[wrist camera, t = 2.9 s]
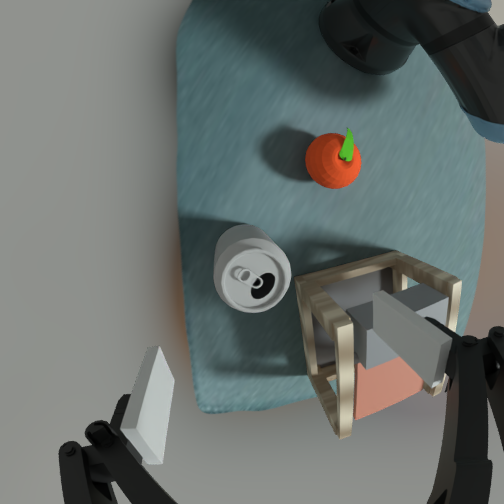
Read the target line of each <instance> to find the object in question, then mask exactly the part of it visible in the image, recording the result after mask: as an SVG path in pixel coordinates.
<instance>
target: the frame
mask: <svg viewBox="0 0 504 504" xmlns="http://www.w3.org/2000/svg"><path fill="white" fill-rule="evenodd" d="M407 277H409V278H411V279H413V280H415V281H416V282H418V283H420V284H421V283H424V284H426V285H428V286H430V287H431V288H433V289H435V290H437V291H439V292H440V293H442V294H444V295H446V296H448V297H449V299H448V308H447V317H446V324H445V327H448V328H449V329H451V330H452V331H453V332H455V330H456V324H457V318H458V311H459V303H460V295H461V285H462V280H460V279H458V278H457V277H456V276H453V275H451V274H449V273H447V272H445V271H442V270H440V269H438V268H436V267H434V266H431V265H429V264H427V263H424V262H422V261H420V260H418V259H415V258H413V257H411V256H408V255H406V254H404V253H401V252H399V251H396V250H395V251H391V252H388V253H384V254H381V255H377V256H373V257H370V258H366V259H362V260H359V261H355V262H351V263H347V264H343V265H340V266H336V267H332V268H328V269H324V270H320V271H316V272H312V273H308V274H304V275H300V276H296V277H294V281H295V288H296V294H297V301H298V308H299V314H300V321H301V328H302V336H303V343H304V351H305V358H306V366H307V374H308V377H309V379H310V382H311V384H312V386H313V388H314V390H315V392H316V394H317V396H318V398H319V401H320V403H321V404H322V407H323V409H324V411H325V413H326V415H327V417H328V420H329V422H330V424H331V426H332V428H333V430H334V432H335V434H336V435H338V437H339V439H343V438H346V437H348V436H351V431H352V415H353V413H352V412H353V389H354V373H355V365H354V337H353V322H352V321H351V318H350V317H349V316H348V315H347V314H346V309H348V308H351V307H354V306H358V305H361V304H364V303H367V302H370V301H373V293H376V292H379V291H382V290H383V291H385V292H386V293H388V294H389V295H391V294H394V293H396V292H399V291H402V290H405V289H407ZM445 376H446V374H445V375H444V378H443V382H442V383H440V384H438V385H437V386H435V387H433V388H431V387H430V386H429V385H428V384H427V383H426V382H425V381H424V385H423V388H424V389H425V391H426V392H427V393H428V394H429V393H430V394H431V395H432V396H433V397H434V396H435V395H437V394H439V393H440V392H441V390H442V387H443V383H444V379H445ZM335 379H337V396H336V395H335V393H334V391H333V389H332V387H331V386H330V384H329V382H328V381H331V380H335Z"/></svg>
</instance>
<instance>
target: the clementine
mask: <svg viewBox="0 0 504 504" xmlns="http://www.w3.org/2000/svg"><path fill="white" fill-rule="evenodd" d="M346 128H347V127H346ZM347 129H348V128H347ZM305 162H306V167H307V170H308V173H309V174H310V176H311V177H312V179H313V180H314V181H316V182H317V183H318V184H320V185H322V186H324V187H327V188H331V189H338V188H342V187H345V186H348V185H349V184H350V183H352V182H353V181H354V180H355V178H356V177H357V176H358V174H359V171H360V168H361V156H360V153H359V150H358V148H357V147H356V145H355V144H354V141H353V136H352V132H351V131H350V129H348V130H347V135H346V137H345V136H343V135H340V134H336V133H328V134H324V135H321V136H319V137H317V138H316V139H315V140H314V141H313V142H312V143H311V144H310V145H309V147H308V149H307V151H306V157H305Z"/></svg>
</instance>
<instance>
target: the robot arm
mask: <svg viewBox="0 0 504 504" xmlns="http://www.w3.org/2000/svg"><path fill="white" fill-rule="evenodd" d="M491 5H492V3H491V0H330V1H329V2H328V3H327V4H326V5H325V7H324V8H323V10H322V11H321V13H320V17H319V26H320V30H321V33H322V35H323V37H324V39H325V41H326V42H327V44H328V45H329V47H330V48H331V49H332V50H333V51H334V52H335V53H336V54H337V55H338V56H339V57H340V58H341V59H342V60H344V61H345V62H347V63H348V64H349V65H351V66H353V67H355V68H356V69H358V70H361V71H363V72H366V73H370V74H375V75H385V74H389V73H392V72H394V71H395V70H397V69H399V68H401V67H402V66H403V65H404V64H405V63H406V61H407V59H408V57H409V55H410V54H411V53H412V51H413V50H414V48H415V46H416V45H418V44H420V45H421V46H422V47H423V49H424V50H425V51H426V53H427V54H428V56H429V57H430V58H431V60H432V61H433V62H434V64H435V65H436V67H437V68H438V70H439V71H440V72H441V74H442V75H443V77H444V79H445V80H446V82H447V83H448V85H449V87H450V88H451V90H452V92H453V93H454V95H455V97H456V99H457V100H458V102H459V105H460V108H461V109H462V111H463V112H464V113H465V114H466V115H467V117H468V119H469V121H470V122H471V124H472V126H473V128H474V129H475V131H476V132H477V133H478V134H479V135H481V136H483V137H485V138H486V139H488V140H490V141H493V142H497V143H503V144H504V24H503V25H500V26H497V25H496V23H495V22H494V21H493V19H492V18H491V16H490V15H489V13H488V11H489V10H490V8H491ZM373 331H374V332H375V333H376V334H377V335H378V336H379V337H380V338H381V339H382V340H383V341H384V342H385V343H386V344H387V345H388V346H389V347H390V348H391V349H392V350H393V351H395V352H396V353H397V354H398V355H399V356H400V357H401V358H402V359H403V360H404V361H405V362H406V363H407V364H408V365H409V366H410V367H411V368H412V369H413V370H414V371H415V372H416V373H417V374H418V375H419V376H420V377H421V378H422V379H423V380H424V381H425V382H426V383H427V384H428V385H429V386H430V387H431V388H433V387H435V386H437V385H438V384H440V383H442V382H443V378H444V375H445V374H447V375H448V376H449V379H448V383H447V386H446V390H445V392H447V404H446V416H445V425H444V433H443V440H442V447H441V453H440V458H439V464H438V469H437V474H436V478H435V482H434V486H433V490H432V493H431V495H430V497H429V499H428V502H427V504H488V501H489V494H490V487H491V479H492V467H493V466H492V461H491V460H488V458H487V454H488V406H487V398H488V400H489V403H490V406H491V409H492V412H493V415H494V418H495V421H496V425H497V428H498V431H499V435H500V439H501V443H502V446H503V451H504V327H500V326H496V327H493V328H491V329H490V330H489V334H488V337H486V338H483V339H477V338H476V337H474V336H469V335H467V336H462V337H461V336H459V335H458V334H456V333H455V332H453V331H452V330H451V329H449V328H448V327H445V325H443V324H441V323H440V322H439V321H437V320H436V319H434V318H431V317H427V316H426V317H424V318H423V317H421V316H420V315H419V314H417V313H416V312H414V311H413V310H411V309H410V308H408V307H407V306H405V305H404V304H403V303H401V302H400V301H398V300H397V299H395V298H394V297H392V296H391V295H389V294H388V293H386V292H385V291H383V290H382V291H379V292H376V293H373ZM174 382H175V380H174V378H173V376H172V374H171V372H170V369H169V367H168V365H167V362H166V360H165V358H164V355H163V353H162V350H161V348H160V346H154V347H149V348H147V351H146V354H145V356H144V359H143V362H142V365H141V367H140V370H139V373H138V376H137V379H136V381H135V384H134V388H133V390H132V393H131V394H126V395H125V394H124V395H123V396H122V397H121V398H120V400H119V401H118V403H117V406H116V409H115V411H114V415H113V417H112V419H111V422H110V424H109V423H108V422H107V421H103V420H100V421H95V422H93V423H91V424H90V425H89V426H88V427H87V428H86V431H85V437H86V438H87V439H88V440H89V442H90V443H91V444H92V445H90V446H85V447H81V446H80V444H78V443H77V442H75V441H69V442H66V443H64V444H63V445H62V446H61V447H60V449H59V466H60V475H61V483H62V491H63V497H64V502H65V504H118V503H117V500H116V497H115V494H114V491H113V488H112V485H111V482H113V481H116V483H117V484H118V486H119V487H120V488H121V490H122V491H123V493H124V494H125V495H126V497H127V498H128V499H129V501H130V502H131V503H132V504H178V503H176V502H175V501H174V500H173V499H172V498H171V497H170V496H169V494H168V493H167V492H165V490H164V489H163V488H162V487H161V486H160V485H159V484H158V483H157V482H156V481H155V480H154V479H153V478H152V476H151V475H150V474H149V473H148V472H147V471H146V470H145V468H144V467H143V466H142V465H141V463H142V458H143V459H144V460H145V462H146V463H147V464H163V457H164V450H165V441H166V434H167V427H168V420H169V413H170V406H171V400H172V394H173V388H174Z"/></svg>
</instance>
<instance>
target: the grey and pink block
mask: <svg viewBox="0 0 504 504" xmlns="http://www.w3.org/2000/svg"><path fill="white" fill-rule="evenodd" d="M391 296H392V297H394V298H395V299H397V300H398V301H400V302H401V303H403V304H404V305H405V306H407V307H408V308H410V309H411V310H413V311H414V312H416V313H417V314H419V315H420V316H421V317H423V318H424V317H426V316H427V317H431V318H434V319H436V320H437V321H439V322H440V323H441V324H443V325H445V324H446V317H447V308H448V299H449V297H448V296H446V295H444V294H442V293H440V292H439V291H437V290H435V289H433V288H431V287H430V286H428V285H426V284H424V283H421V284H418V285H416V286H413V287H410V288H408V289H405V290H402V291H399V292H396V293H394V294H391ZM346 314H347V315H348V316H349V317H350V318H351V321H352V322H353V337H354V365H355V388H354V413H353V416H354V419H355V420H357V419H360V418H363V417H365V416H367V415H370V414H372V413H375V412H377V411H379V410H381V409H384V408H386V407H388V406H390V405H393V404H395V403H397V402H399V401H401V400H403V399H405V398H407V397H409V396H411V395H413V394H415V393H417V392H419V391H421V390H422V389H423V385H424V380H423V379H422V378H421V377H420V376H419V375H418V374H417V373H416V372H415V371H414V370H413V369H412V368H411V367H410V366H409V365H408V364H407V363H406V362H405V361H404V360H403V359H402V358H401V357H400V356H399V355H398V354H397V353H396V352H395V351H393V350H392V349H391V348H390V347H389V346H388V345H387V344H386V343H385V342H384V341H383V340H382V339H381V338H380V337H379V336H378V335H377V334H376V333H375V332H374V331H373V301H370V302H367V303H364V304H361V305H358V306H354V307H351V308H348V309H346Z"/></svg>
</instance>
